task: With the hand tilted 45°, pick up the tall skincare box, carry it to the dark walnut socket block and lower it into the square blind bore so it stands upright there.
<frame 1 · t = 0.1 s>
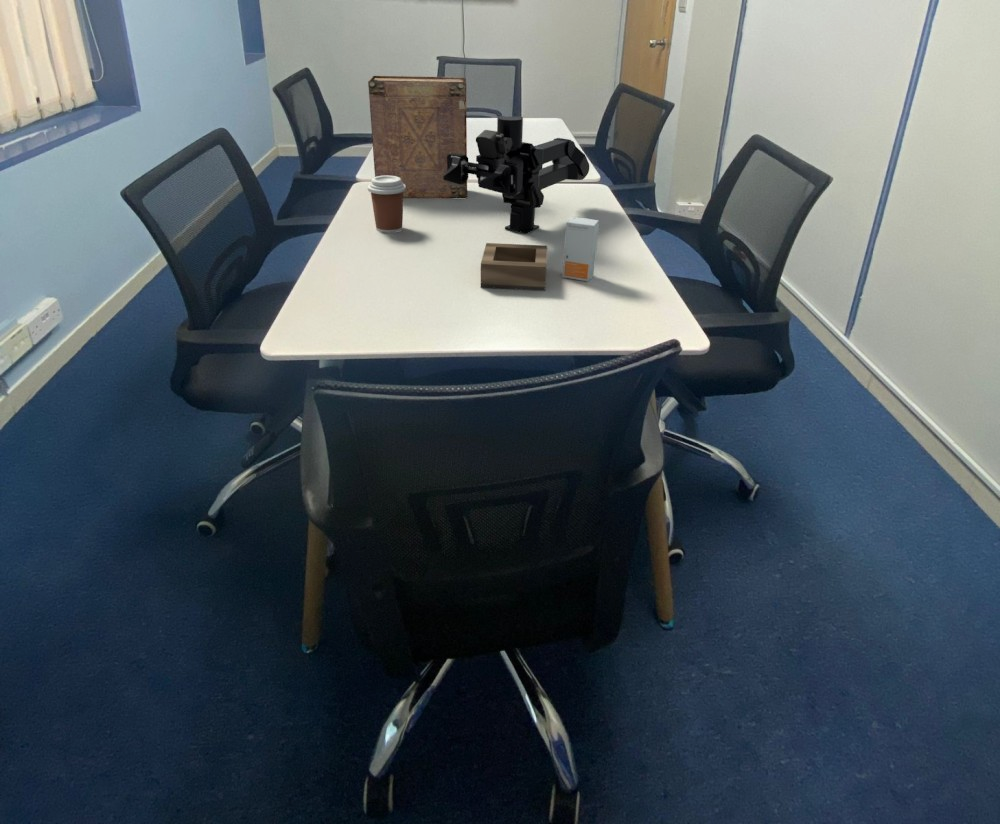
hand: (461, 181, 152), 17 cm above the table, tool horizontal, fingers open, 9 cm apart
book: (422, 194, 205), on the table
skincare box: (577, 277, 152), on the table
socket block: (514, 277, 151), on the table
coffee cup: (389, 229, 177), on the table
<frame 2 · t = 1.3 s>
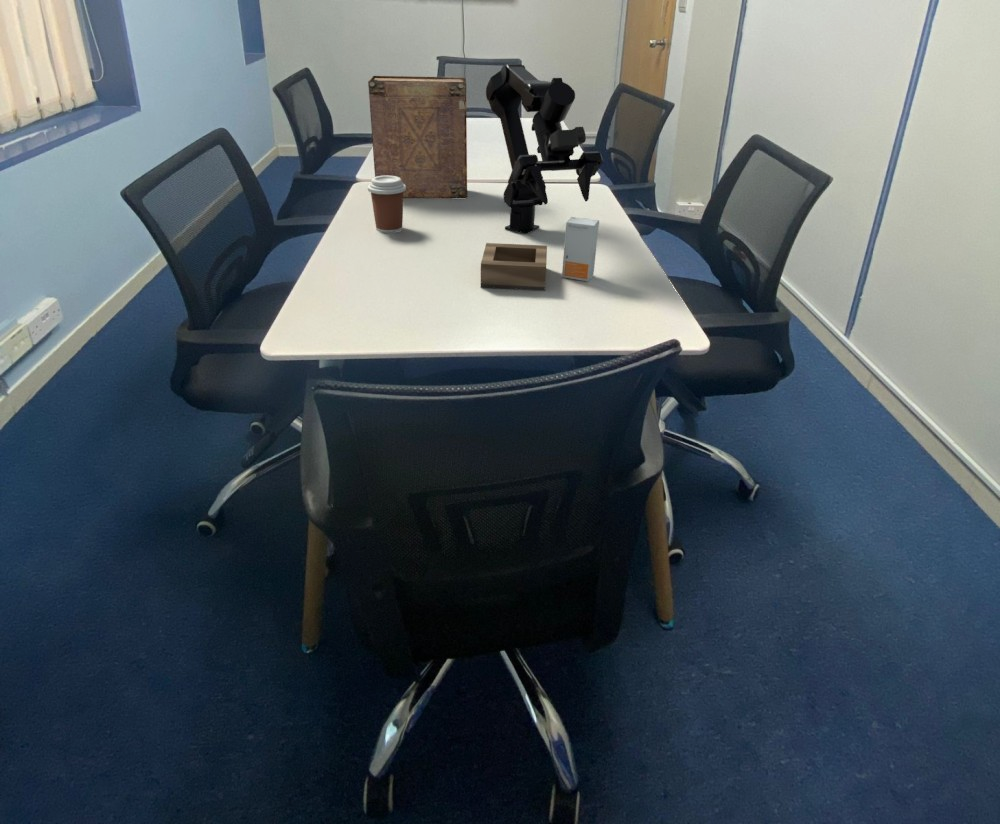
hand: (566, 201, 151), 14 cm above the table, tool tilted 45°, fingers open, 9 cm apart
nothing on the table moved.
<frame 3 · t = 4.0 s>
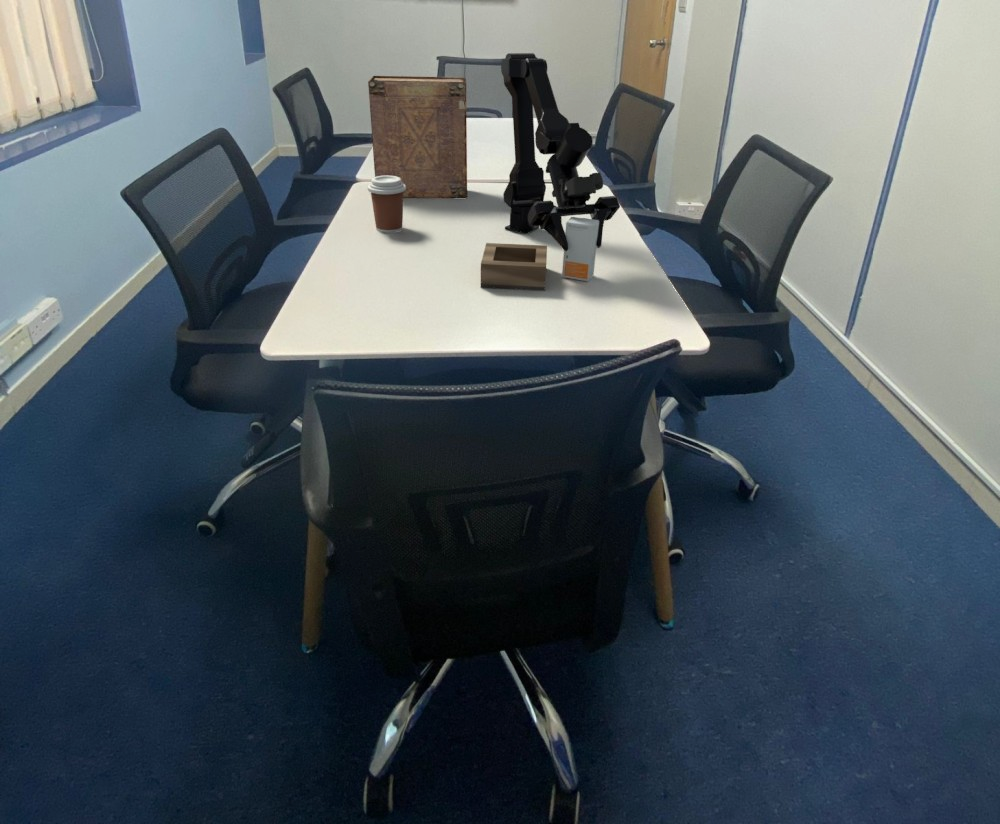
hand: (583, 248, 147), 7 cm above the table, tool tilted 45°, fingers closed on skincare box, 7 cm apart
skincare box: (577, 277, 152), on the table, touching gripper
everything else where it was.
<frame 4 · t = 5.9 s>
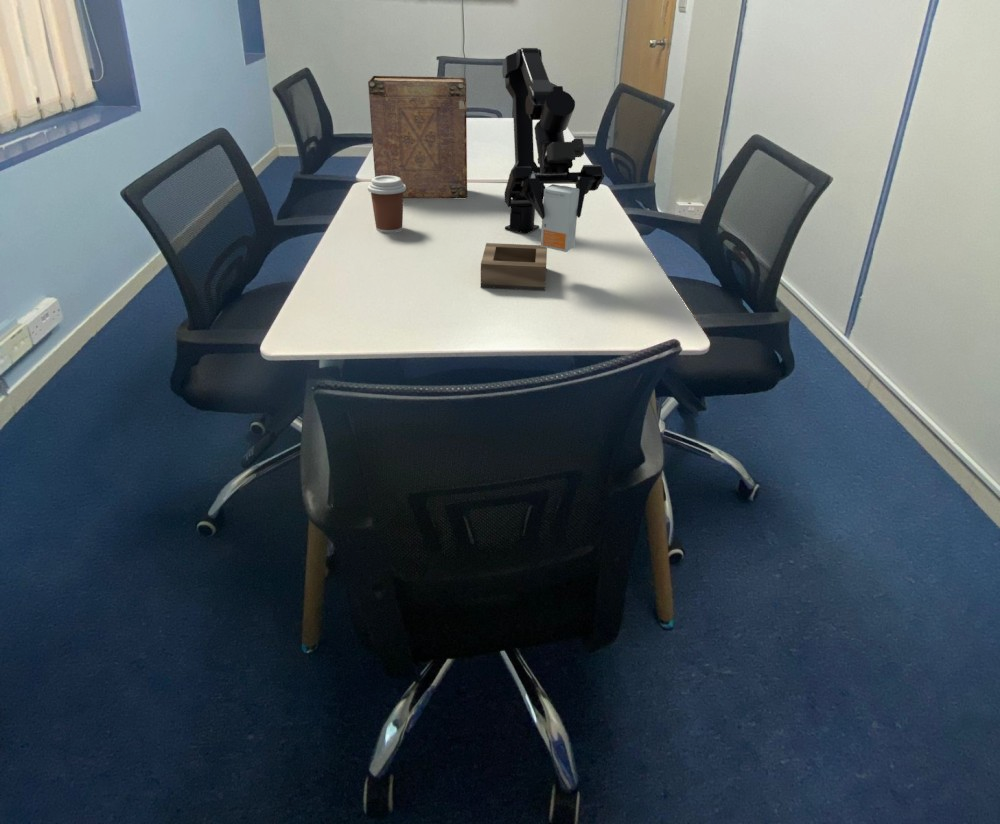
hand: (561, 217, 143), 13 cm above the table, tool tilted 45°, fingers closed on skincare box, 7 cm apart
skincare box: (557, 248, 148), point 6 cm above the table, touching gripper
everything else where it was.
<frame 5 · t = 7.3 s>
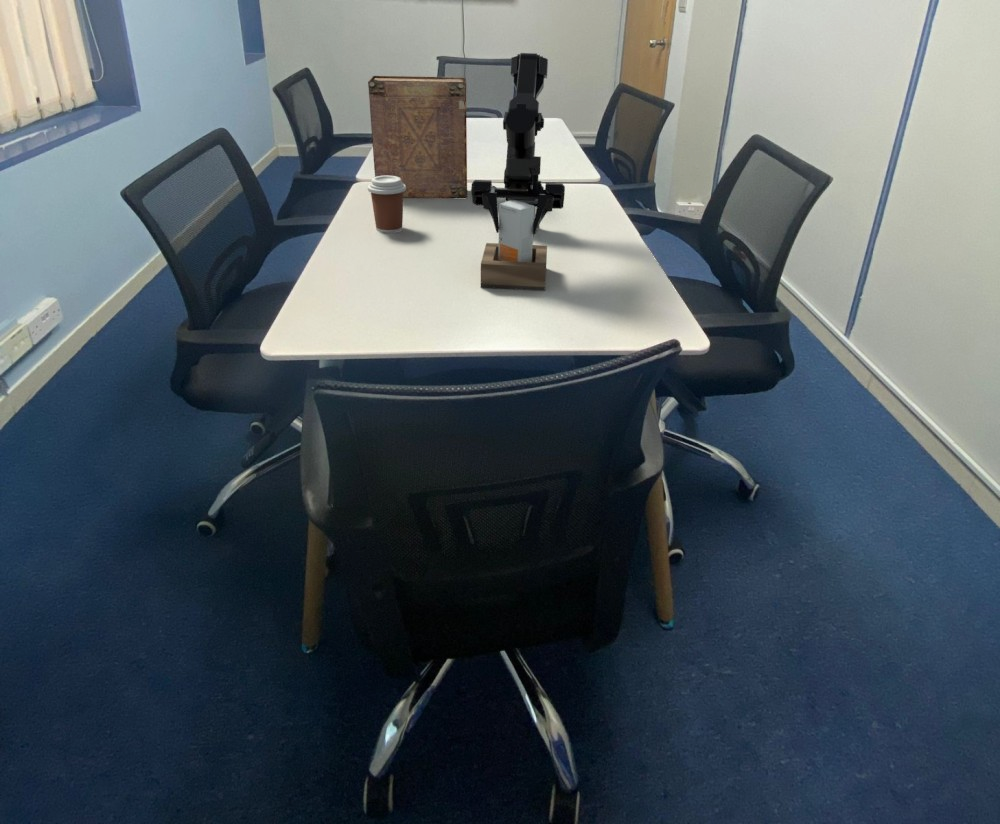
hand: (515, 232, 144), 10 cm above the table, tool tilted 45°, fingers closed on skincare box, 7 cm apart
skincare box: (515, 262, 149), point 3 cm above the table, touching gripper
everything else where it was.
when the fingers open (9 cm above the table, at t = 8.1 s): skincare box drops 1 cm, resting on socket block.
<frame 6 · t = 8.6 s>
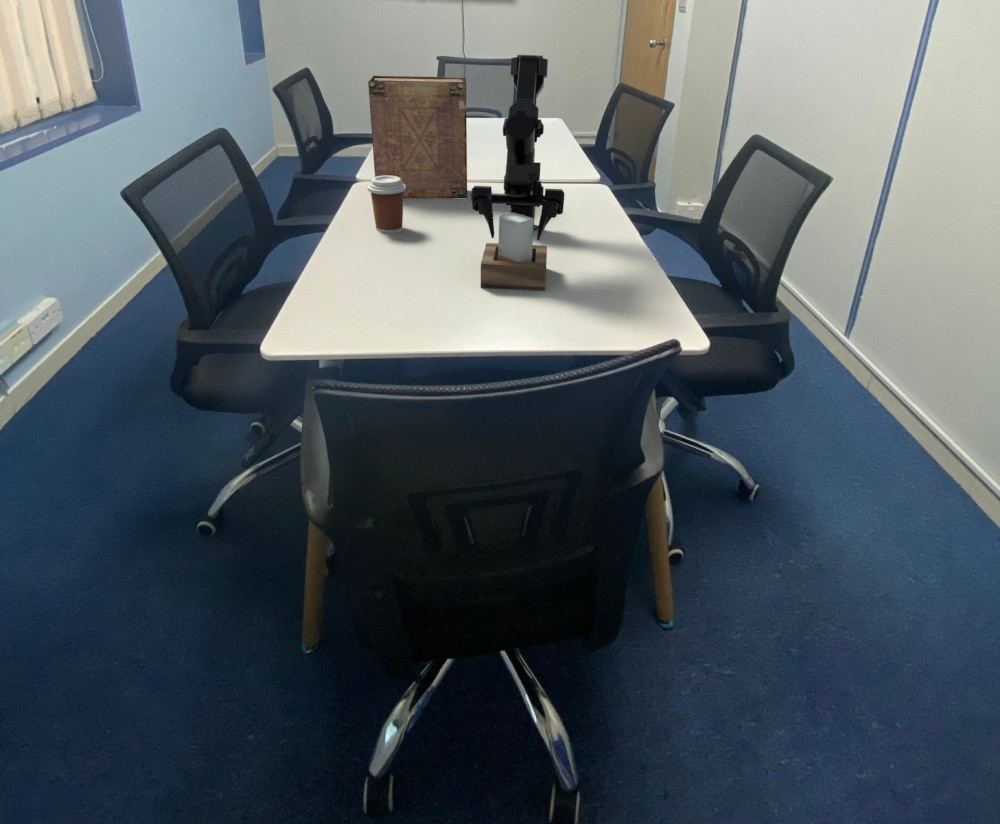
hand: (515, 238, 145), 9 cm above the table, tool tilted 45°, fingers open, 9 cm apart
skincare box: (514, 274, 150), point 1 cm above the table, touching socket block
everything else where it was.
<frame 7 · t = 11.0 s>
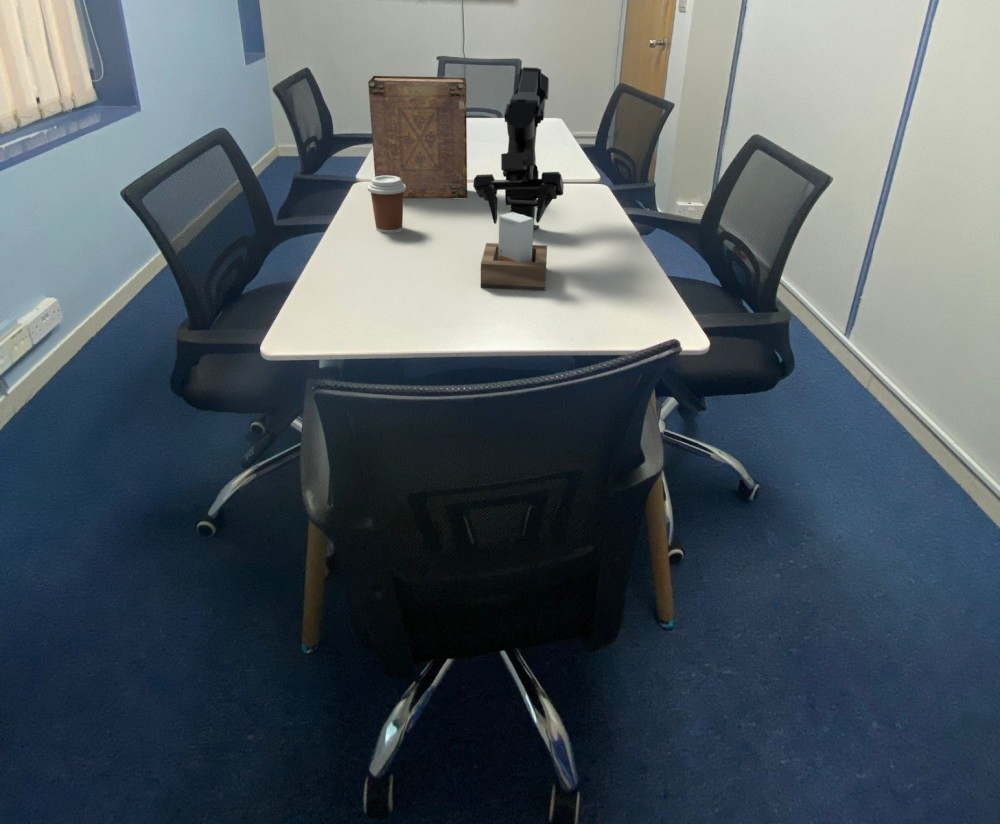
hand: (516, 222, 153), 9 cm above the table, tool tilted 40°, fingers open, 9 cm apart
nothing on the table moved.
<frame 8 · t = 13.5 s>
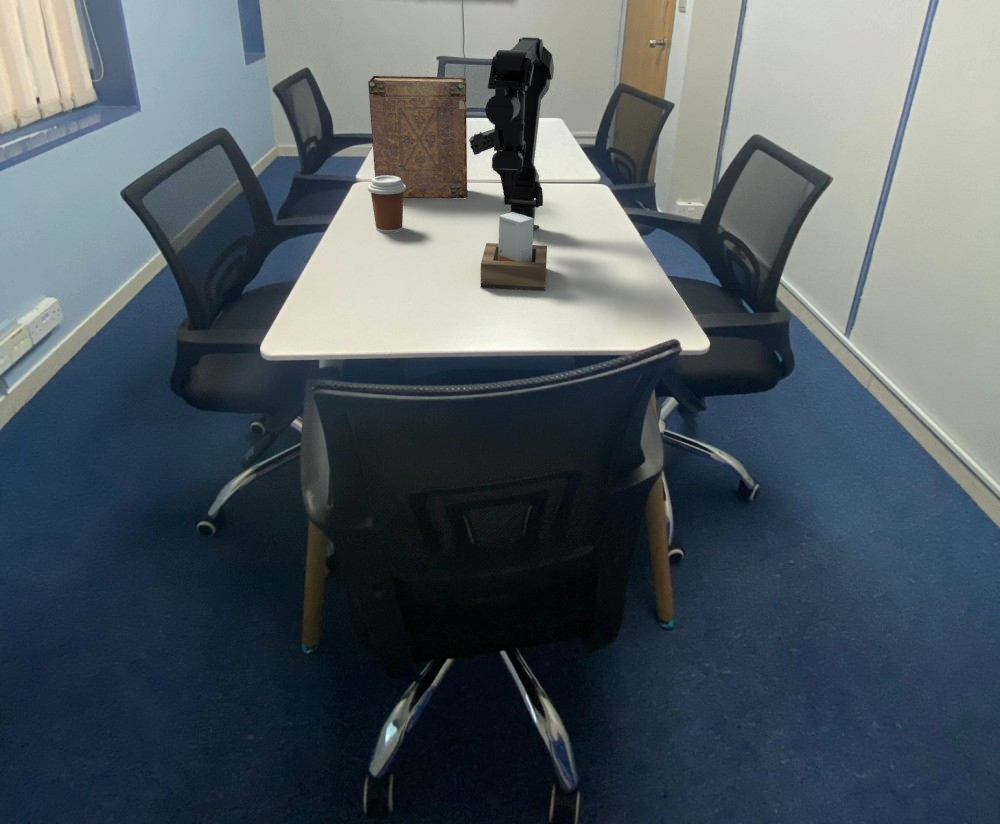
hand: (508, 193, 158), 13 cm above the table, tool pointing down, fingers open, 9 cm apart
nothing on the table moved.
at the end: skincare box 0.2 cm off-centre on the socket block, point 0.6 cm above the socket block's base; skincare box tilted 0°; the gripper is holding nothing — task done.
